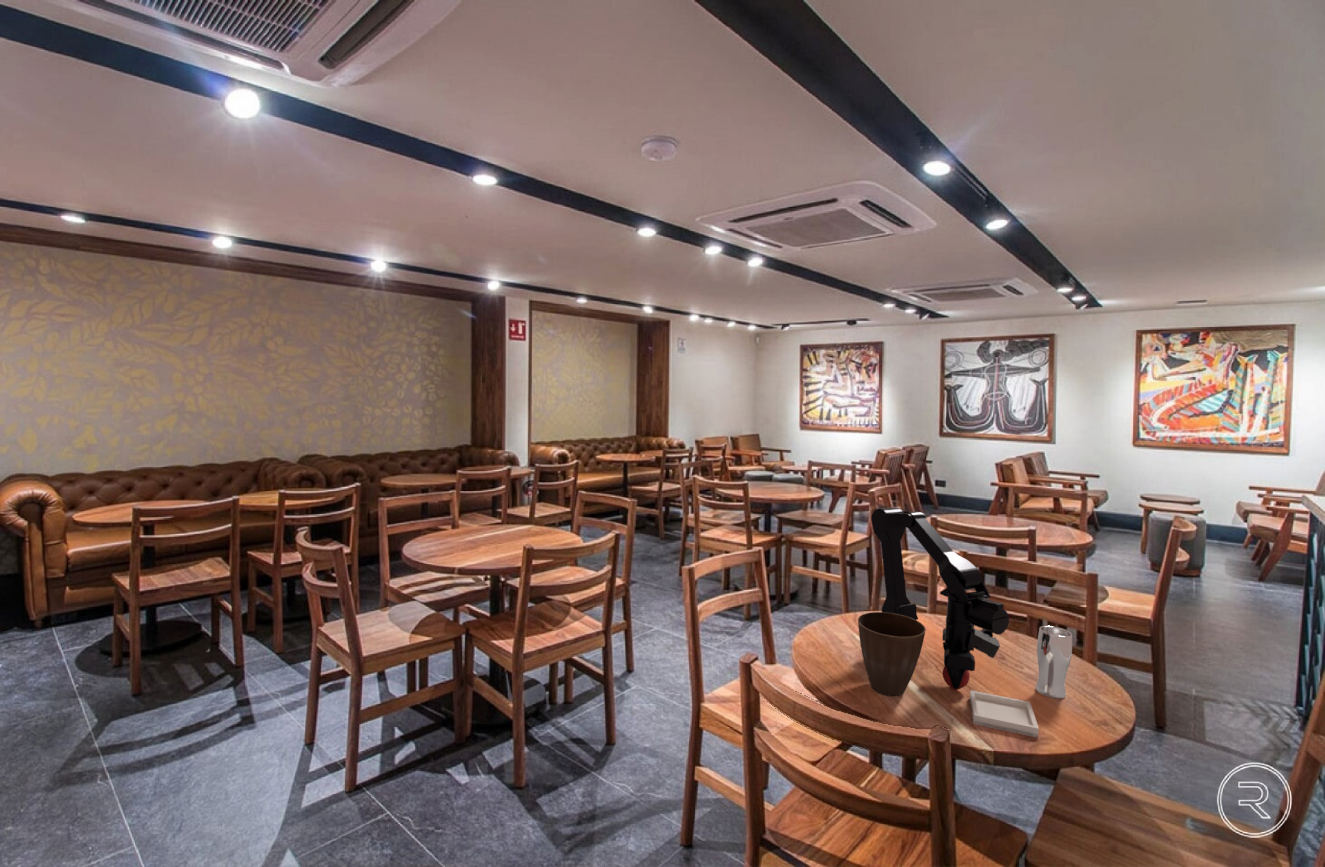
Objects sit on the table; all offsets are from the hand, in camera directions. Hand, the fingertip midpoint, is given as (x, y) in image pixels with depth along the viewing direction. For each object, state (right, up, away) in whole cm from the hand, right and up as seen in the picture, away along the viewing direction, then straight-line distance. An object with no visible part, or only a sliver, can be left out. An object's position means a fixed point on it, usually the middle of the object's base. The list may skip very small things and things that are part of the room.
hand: (955, 682), depth 148 cm
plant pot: (-16, -2, 0) cm, 16 cm away
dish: (+5, -3, -12) cm, 13 cm away
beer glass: (+23, -3, 0) cm, 23 cm away
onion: (0, -2, 0) cm, 2 cm away
